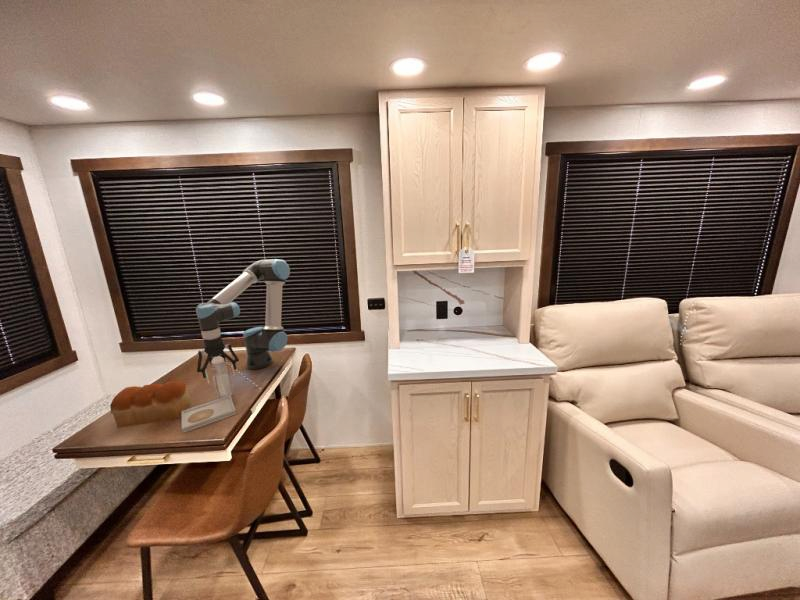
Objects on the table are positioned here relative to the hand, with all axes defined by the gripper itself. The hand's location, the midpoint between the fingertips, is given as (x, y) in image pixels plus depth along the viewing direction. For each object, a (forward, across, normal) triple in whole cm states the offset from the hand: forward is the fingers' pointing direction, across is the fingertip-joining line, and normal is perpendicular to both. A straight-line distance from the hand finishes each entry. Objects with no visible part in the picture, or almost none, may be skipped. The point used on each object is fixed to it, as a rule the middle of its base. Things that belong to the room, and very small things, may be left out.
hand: (221, 379), depth 149 cm
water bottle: (+10, 0, 0) cm, 10 cm away
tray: (+10, +8, +12) cm, 17 cm away
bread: (+10, +28, -5) cm, 30 cm away
